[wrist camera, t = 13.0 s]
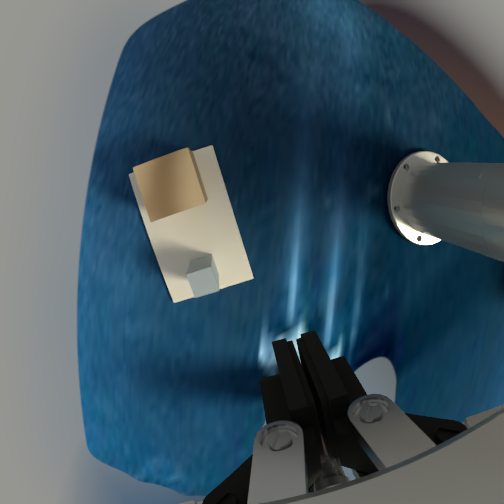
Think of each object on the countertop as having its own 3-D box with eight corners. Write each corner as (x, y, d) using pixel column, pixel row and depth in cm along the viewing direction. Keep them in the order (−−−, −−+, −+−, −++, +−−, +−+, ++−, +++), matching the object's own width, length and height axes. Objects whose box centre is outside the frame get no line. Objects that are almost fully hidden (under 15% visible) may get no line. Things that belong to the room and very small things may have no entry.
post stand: (212, 145, 34) (211, 139, 28) (253, 277, 38) (259, 294, 32) (129, 174, 34) (113, 173, 28) (174, 301, 38) (167, 322, 32)
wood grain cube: (193, 152, 34) (187, 147, 27) (208, 198, 35) (205, 203, 29) (147, 169, 34) (132, 167, 27) (162, 214, 35) (150, 222, 28)
